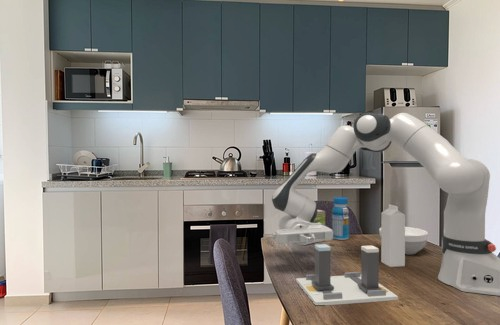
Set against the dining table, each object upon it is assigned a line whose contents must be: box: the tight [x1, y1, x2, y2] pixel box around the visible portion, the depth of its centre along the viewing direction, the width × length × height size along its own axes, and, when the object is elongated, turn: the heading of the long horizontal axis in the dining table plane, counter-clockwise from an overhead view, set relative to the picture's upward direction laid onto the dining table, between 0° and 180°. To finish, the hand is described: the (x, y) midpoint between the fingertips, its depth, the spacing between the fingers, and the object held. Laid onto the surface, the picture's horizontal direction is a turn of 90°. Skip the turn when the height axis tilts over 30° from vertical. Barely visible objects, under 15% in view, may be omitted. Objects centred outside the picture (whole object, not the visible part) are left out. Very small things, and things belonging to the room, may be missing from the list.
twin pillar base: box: [295, 271, 399, 306], centre depth 100 cm, size 24×18×2 cm
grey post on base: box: [358, 245, 382, 293], centre depth 97 cm, size 5×5×12 cm
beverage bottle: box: [331, 196, 350, 241], centre depth 165 cm, size 8×8×20 cm
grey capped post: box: [312, 243, 334, 291], centre depth 99 cm, size 5×5×12 cm
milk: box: [380, 204, 406, 268], centre depth 124 cm, size 6×6×22 cm
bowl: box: [378, 226, 429, 256], centre depth 142 cm, size 19×19×9 cm
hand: (310, 240), depth 110 cm, fingers closed
